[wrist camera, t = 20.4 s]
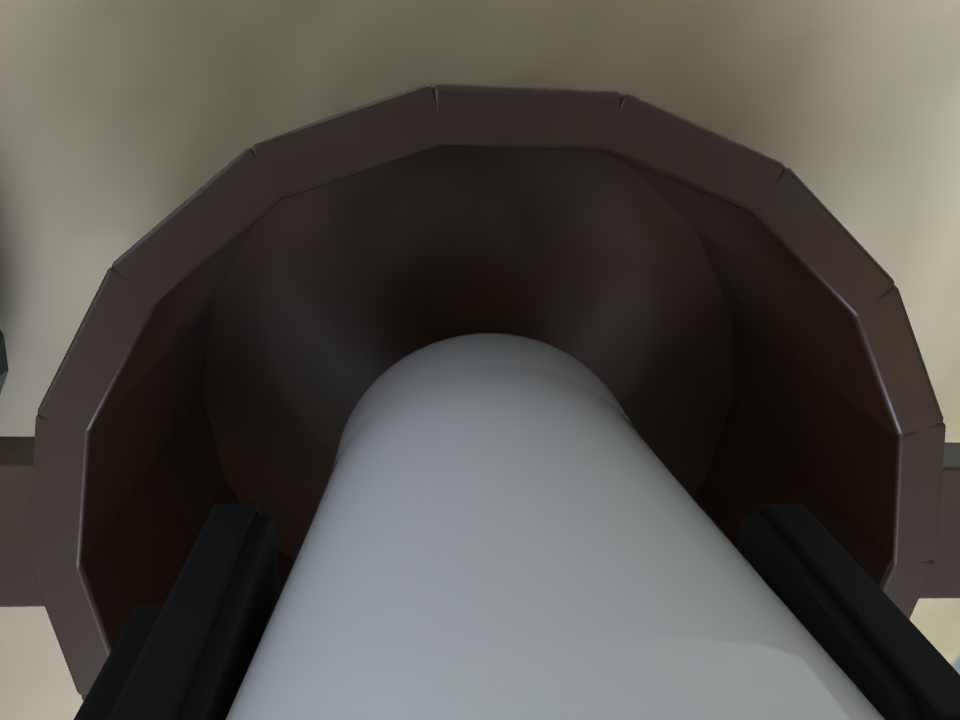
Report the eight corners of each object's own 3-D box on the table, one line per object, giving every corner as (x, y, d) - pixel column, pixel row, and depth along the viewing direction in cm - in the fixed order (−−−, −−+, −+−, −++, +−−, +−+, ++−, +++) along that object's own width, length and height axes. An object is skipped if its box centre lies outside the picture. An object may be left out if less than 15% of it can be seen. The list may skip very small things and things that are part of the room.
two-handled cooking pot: (5, 65, 15) (-308, 53, 9) (923, 103, 17) (1248, 117, 10) (87, 632, 20) (-83, 913, 13) (814, 624, 21) (995, 873, 14)
